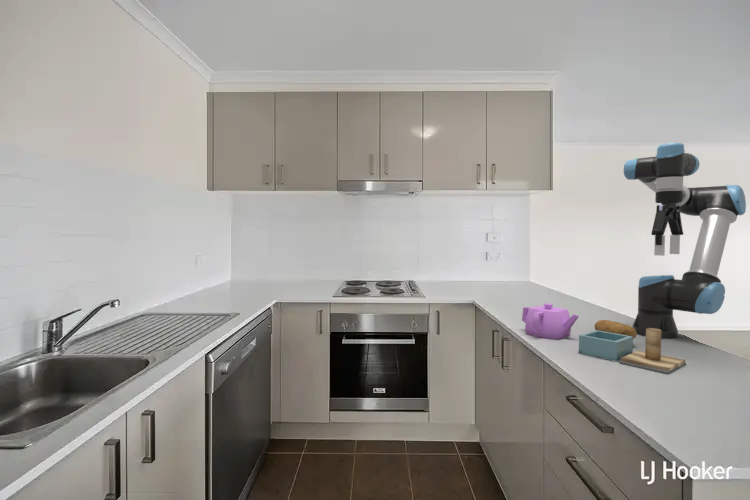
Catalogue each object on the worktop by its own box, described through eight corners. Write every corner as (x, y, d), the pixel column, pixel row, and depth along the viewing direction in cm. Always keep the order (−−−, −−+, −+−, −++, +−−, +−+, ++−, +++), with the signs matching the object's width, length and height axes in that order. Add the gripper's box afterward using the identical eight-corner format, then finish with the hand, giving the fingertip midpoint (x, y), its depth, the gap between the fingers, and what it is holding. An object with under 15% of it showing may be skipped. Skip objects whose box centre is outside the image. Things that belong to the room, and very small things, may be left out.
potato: (627, 350, 150) (628, 326, 150) (588, 341, 162) (589, 319, 162) (642, 346, 155) (643, 323, 155) (603, 337, 167) (604, 317, 167)
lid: (638, 353, 144) (639, 323, 143) (685, 363, 133) (686, 330, 133) (620, 360, 135) (621, 328, 135) (669, 371, 125) (670, 336, 125)
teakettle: (519, 329, 181) (520, 300, 180) (561, 330, 180) (561, 300, 180) (533, 340, 164) (533, 307, 163) (579, 340, 163) (580, 307, 163)
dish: (595, 347, 154) (596, 330, 154) (632, 354, 144) (633, 336, 144) (578, 353, 146) (579, 335, 146) (616, 361, 137) (617, 342, 137)
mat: (639, 354, 144) (639, 353, 144) (686, 364, 134) (686, 362, 134) (619, 363, 135) (619, 361, 135) (667, 374, 125) (667, 372, 125)
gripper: (669, 193, 156) (668, 253, 157) (641, 189, 141) (639, 255, 142) (695, 192, 151) (693, 253, 152) (668, 187, 135) (666, 256, 136)
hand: (667, 254), depth 147 cm, fingers open, 13 cm apart
